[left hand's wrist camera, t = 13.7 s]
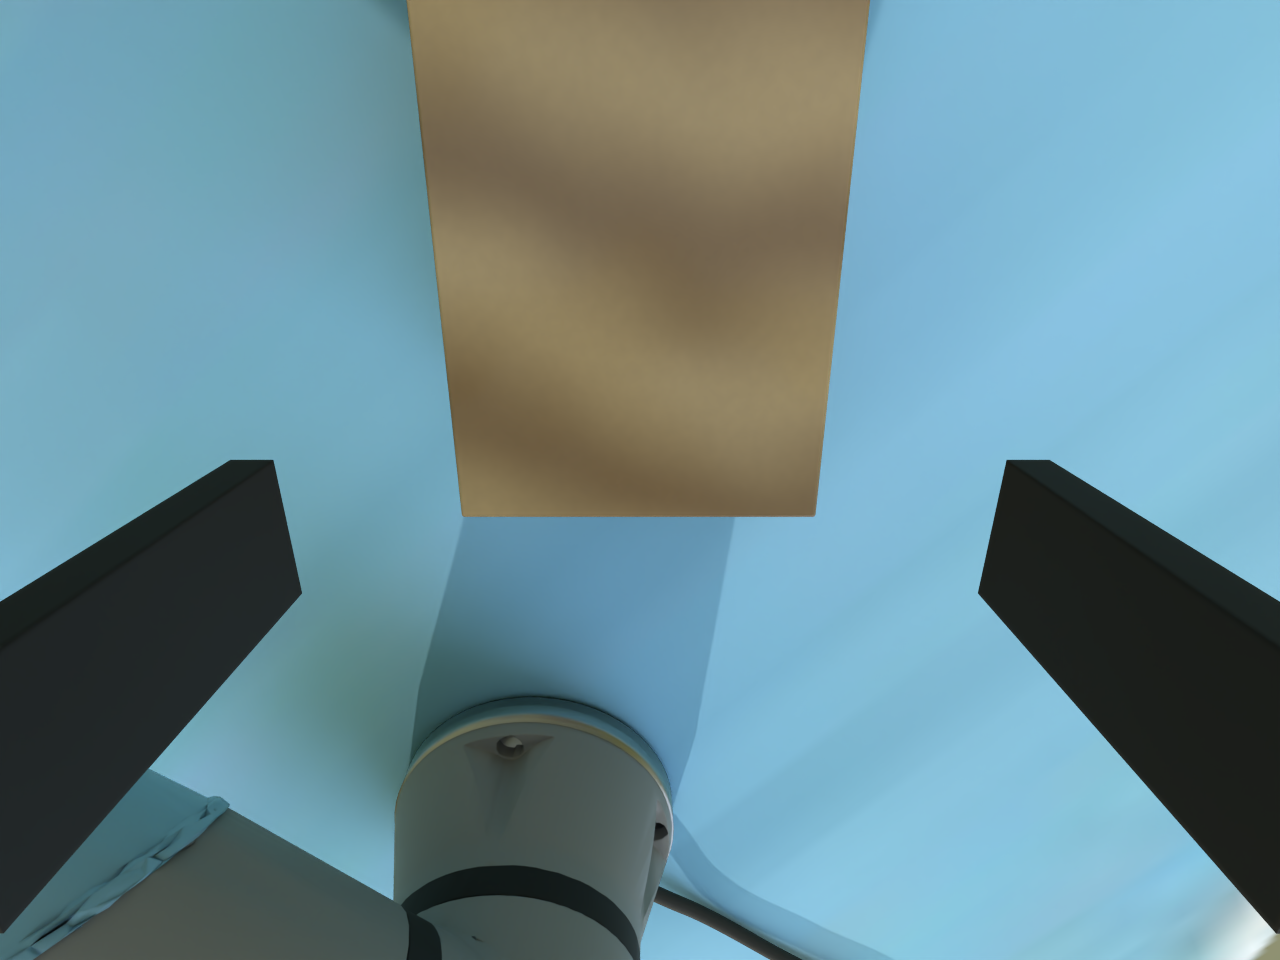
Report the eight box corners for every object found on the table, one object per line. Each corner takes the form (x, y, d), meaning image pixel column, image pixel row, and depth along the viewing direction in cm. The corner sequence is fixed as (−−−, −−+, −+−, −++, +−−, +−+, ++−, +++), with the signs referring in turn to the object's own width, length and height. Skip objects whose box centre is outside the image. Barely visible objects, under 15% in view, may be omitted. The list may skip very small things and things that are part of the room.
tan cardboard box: (490, -70, 24) (374, -286, 13) (787, -70, 24) (901, -285, 13) (522, 412, 30) (461, 517, 20) (755, 412, 30) (815, 517, 20)
